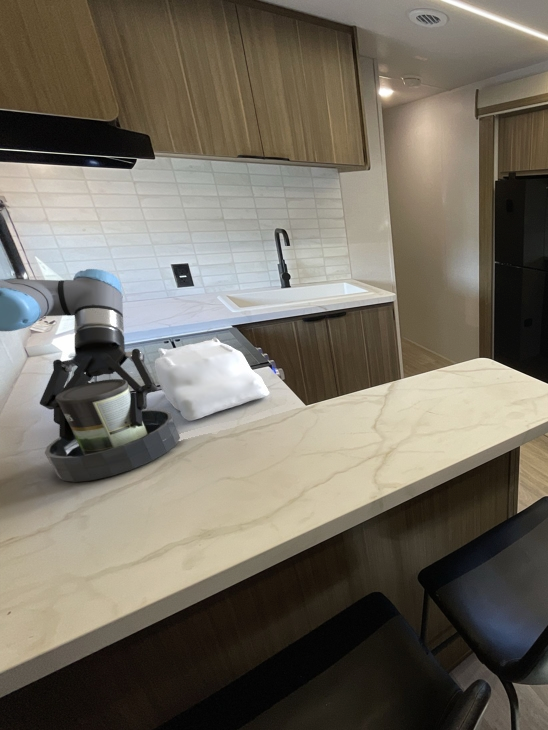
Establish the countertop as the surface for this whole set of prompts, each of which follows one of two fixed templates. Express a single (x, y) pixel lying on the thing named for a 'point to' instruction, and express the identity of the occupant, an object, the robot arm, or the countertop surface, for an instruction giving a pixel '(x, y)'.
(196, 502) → the countertop surface
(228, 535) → the countertop surface
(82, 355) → the robot arm
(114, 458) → the shallow grey round dish
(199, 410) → the white bag
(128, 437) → the coffee can
